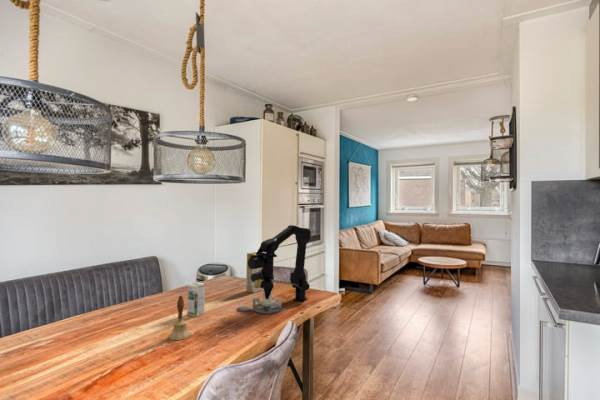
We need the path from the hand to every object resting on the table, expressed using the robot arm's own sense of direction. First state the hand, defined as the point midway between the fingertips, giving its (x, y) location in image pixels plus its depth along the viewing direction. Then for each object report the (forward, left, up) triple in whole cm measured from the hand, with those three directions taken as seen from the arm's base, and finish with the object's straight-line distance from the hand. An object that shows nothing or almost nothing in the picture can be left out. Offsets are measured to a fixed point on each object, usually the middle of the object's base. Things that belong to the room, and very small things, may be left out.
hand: (267, 297), depth 159 cm
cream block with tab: (0, 0, -3) cm, 3 cm away
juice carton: (-24, -24, -6) cm, 34 cm away
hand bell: (+43, -14, -6) cm, 46 cm away
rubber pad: (+6, -10, -6) cm, 13 cm away
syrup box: (+22, -26, -6) cm, 35 cm away
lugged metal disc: (0, 0, -6) cm, 6 cm away
